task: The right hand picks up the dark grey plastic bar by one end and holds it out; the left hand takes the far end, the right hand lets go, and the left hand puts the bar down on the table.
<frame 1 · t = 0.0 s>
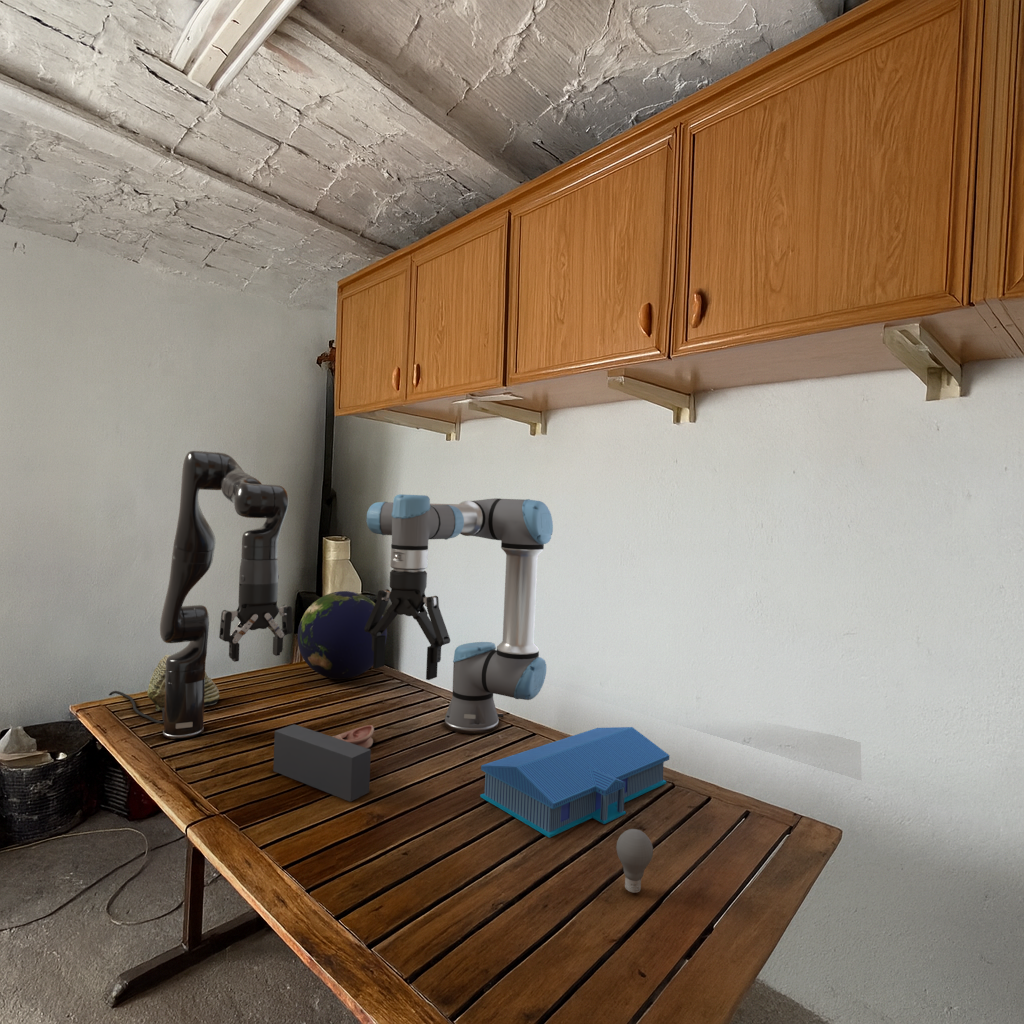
left hand: (256, 657, 132), 29 cm above the table, tool pointing down, fingers open, 8 cm apart
right hand: (404, 672, 130), 28 cm above the table, tool pointing down, fingers open, 13 cm apart
fossil: (183, 706, 185), on the table
anatomical model: (345, 745, 162), on the table
light bulb: (632, 891, 106), on the table
bar: (319, 781, 141), on the table
globe: (341, 678, 220), on the table
model building: (581, 792, 141), on the table
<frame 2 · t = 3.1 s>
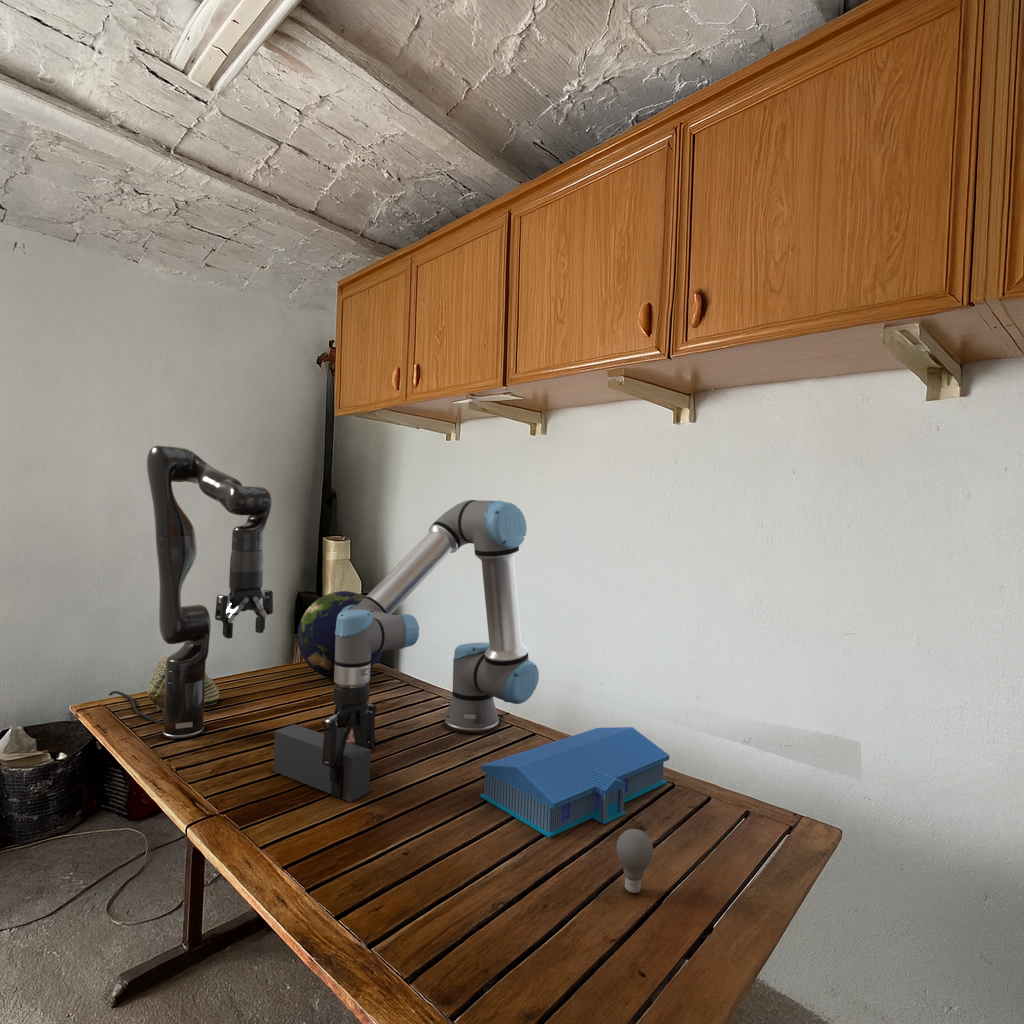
left hand: (244, 635, 154), 29 cm above the table, tool pointing down, fingers open, 8 cm apart
right hand: (347, 789, 136), 1 cm above the table, tool pointing down, fingers closed on bar, 5 cm apart
bar: (319, 781, 141), on the table, touching right hand
everything else where it was.
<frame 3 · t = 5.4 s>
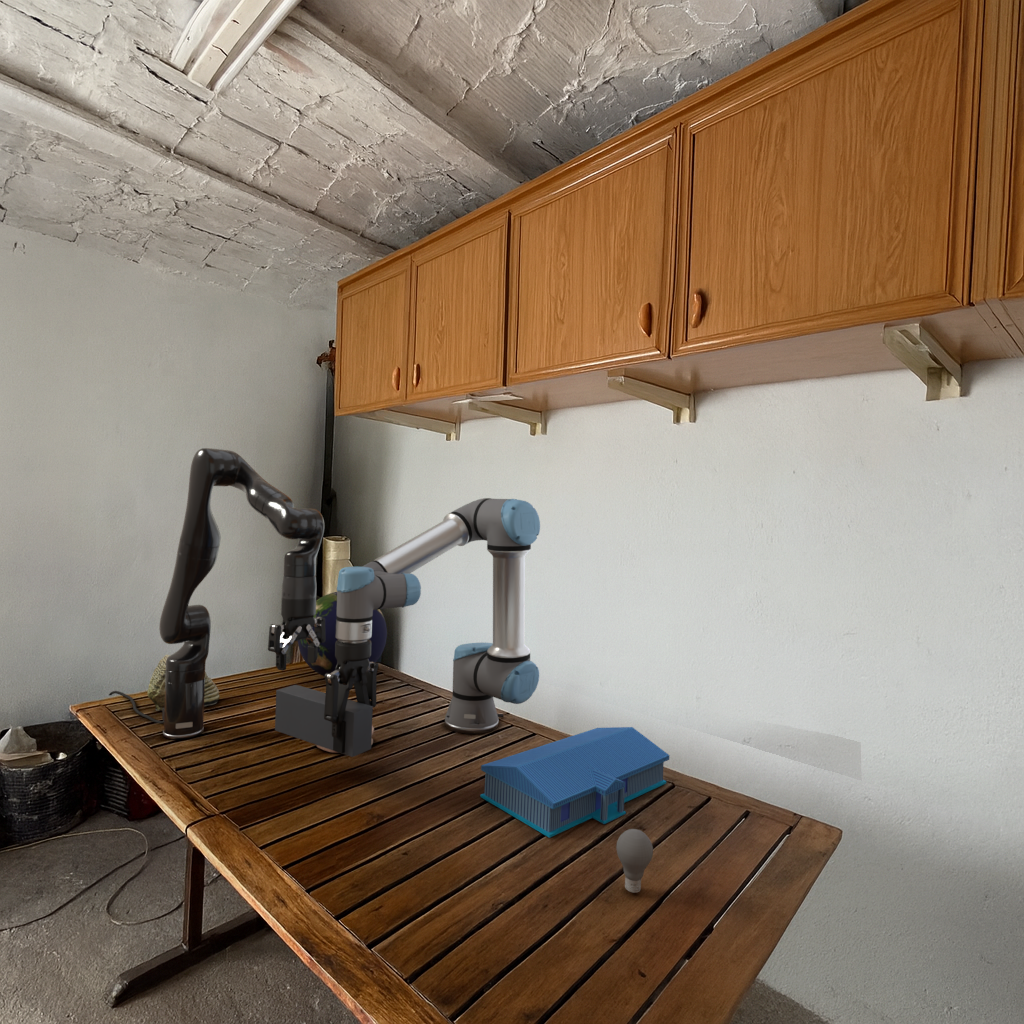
left hand: (297, 666, 145), 24 cm above the table, tool pointing down, fingers open, 8 cm apart
right hand: (349, 746, 136), 10 cm above the table, tool pointing down, fingers closed on bar, 5 cm apart
bar: (321, 739, 141), point 9 cm above the table, touching right hand
everything else where it was.
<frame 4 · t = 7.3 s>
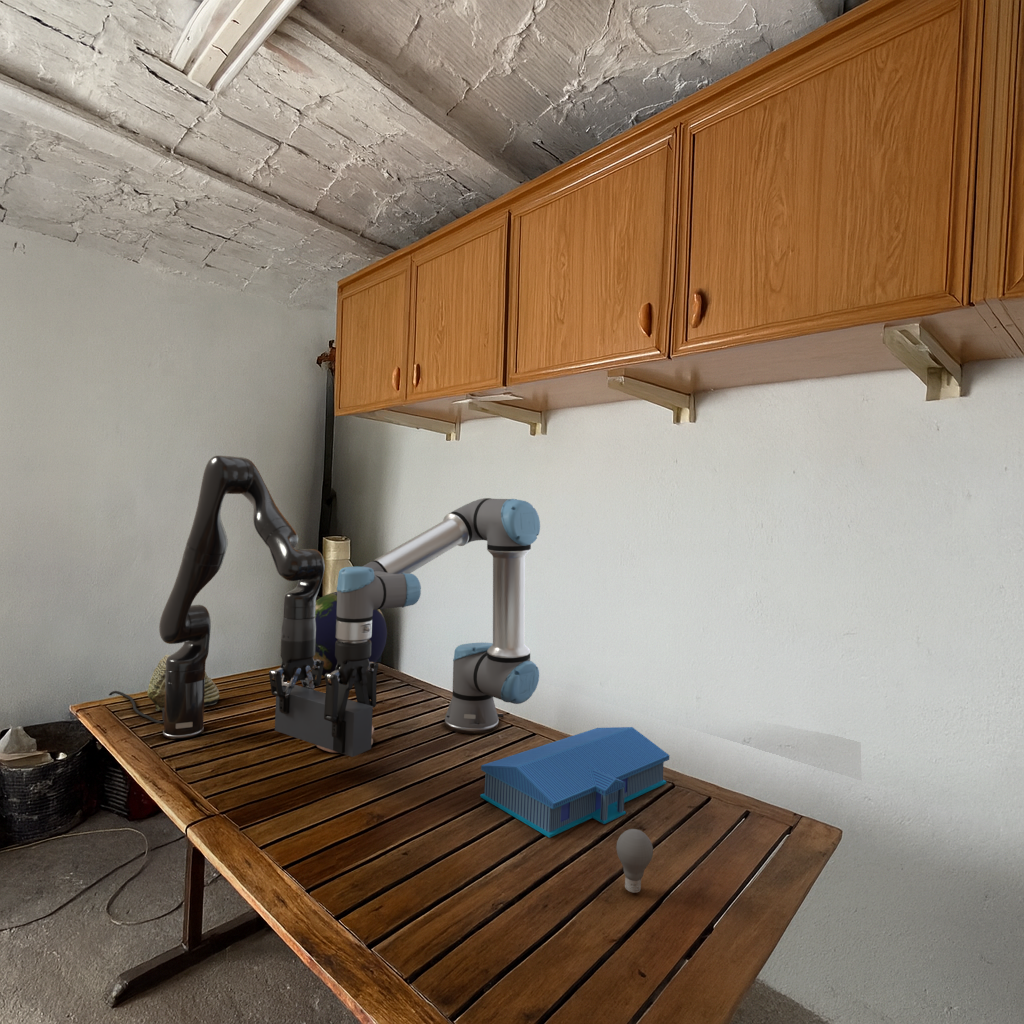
left hand: (295, 709, 145), 14 cm above the table, tool pointing down, fingers closed on bar, 5 cm apart
right hand: (349, 746, 136), 10 cm above the table, tool pointing down, fingers closed on bar, 5 cm apart
bar: (321, 739, 141), point 9 cm above the table, touching left hand, right hand
everything else where it was.
when the right hand's fingers open (10 cm above the table, at t = 8.2 s): bar stays where it is, held by the left hand.
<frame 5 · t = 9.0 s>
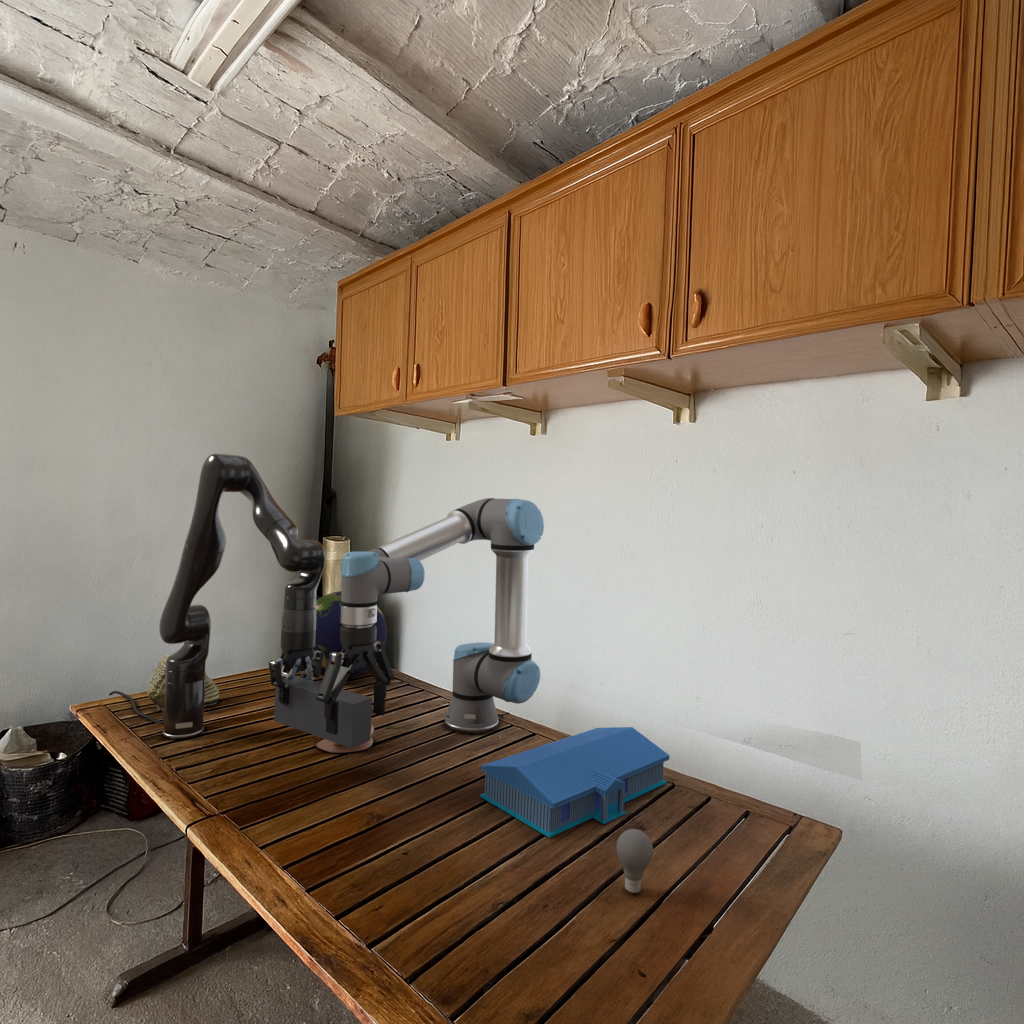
left hand: (295, 700, 145), 16 cm above the table, tool pointing down, fingers closed on bar, 5 cm apart
right hand: (356, 723, 136), 15 cm above the table, tool pointing down, fingers open, 13 cm apart
bar: (320, 730, 141), point 11 cm above the table, touching left hand
everything else where it was.
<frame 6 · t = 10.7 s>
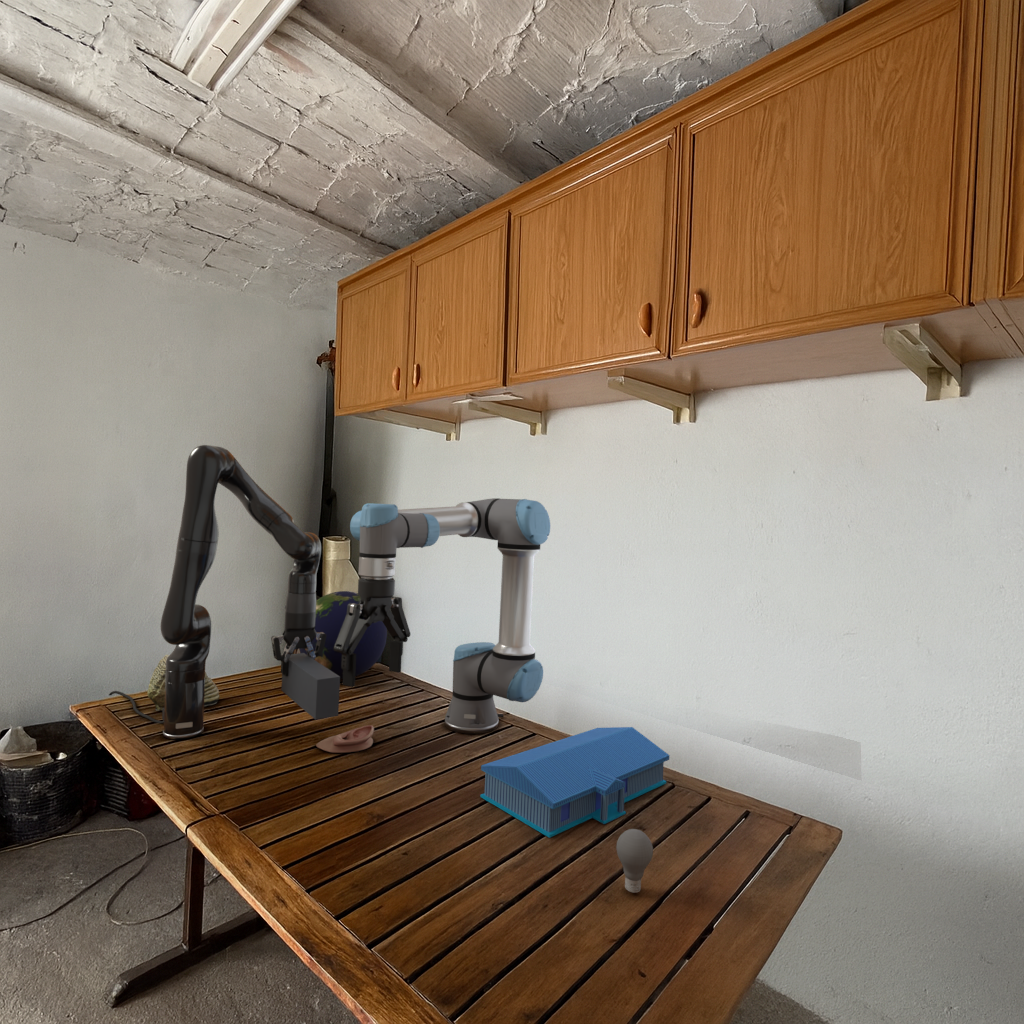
left hand: (297, 674, 164), 17 cm above the table, tool pointing down, fingers closed on bar, 5 cm apart
right hand: (372, 678, 133), 26 cm above the table, tool pointing down, fingers open, 13 cm apart
bar: (308, 702, 157), point 12 cm above the table, touching left hand
everything else where it was.
when the left hand's fingers open (6 cm above the table, at t = 14.2 s): bar drops 1 cm, on the table.
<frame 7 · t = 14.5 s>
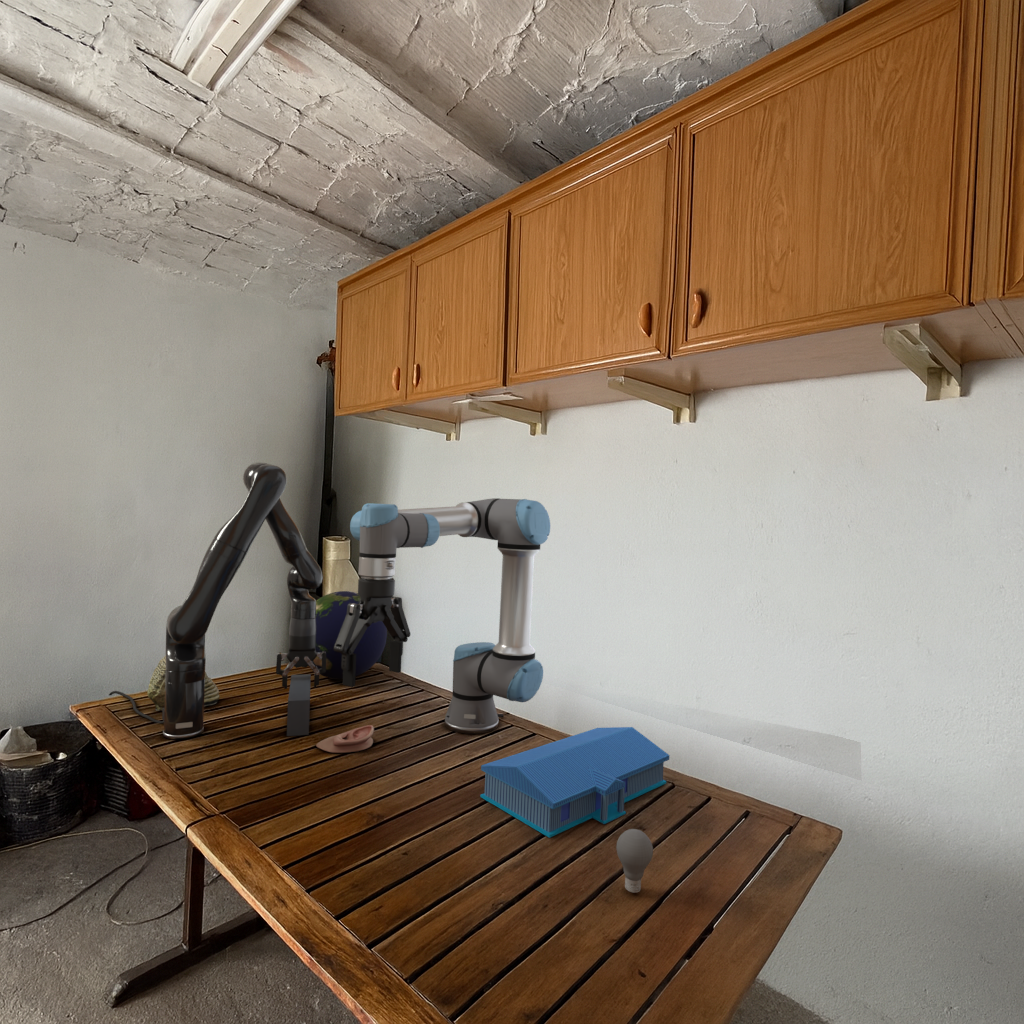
left hand: (300, 687, 187), 7 cm above the table, tool pointing down, fingers open, 8 cm apart
right hand: (372, 678, 133), 26 cm above the table, tool pointing down, fingers open, 13 cm apart
bar: (298, 719, 178), on the table
everything else where it was.
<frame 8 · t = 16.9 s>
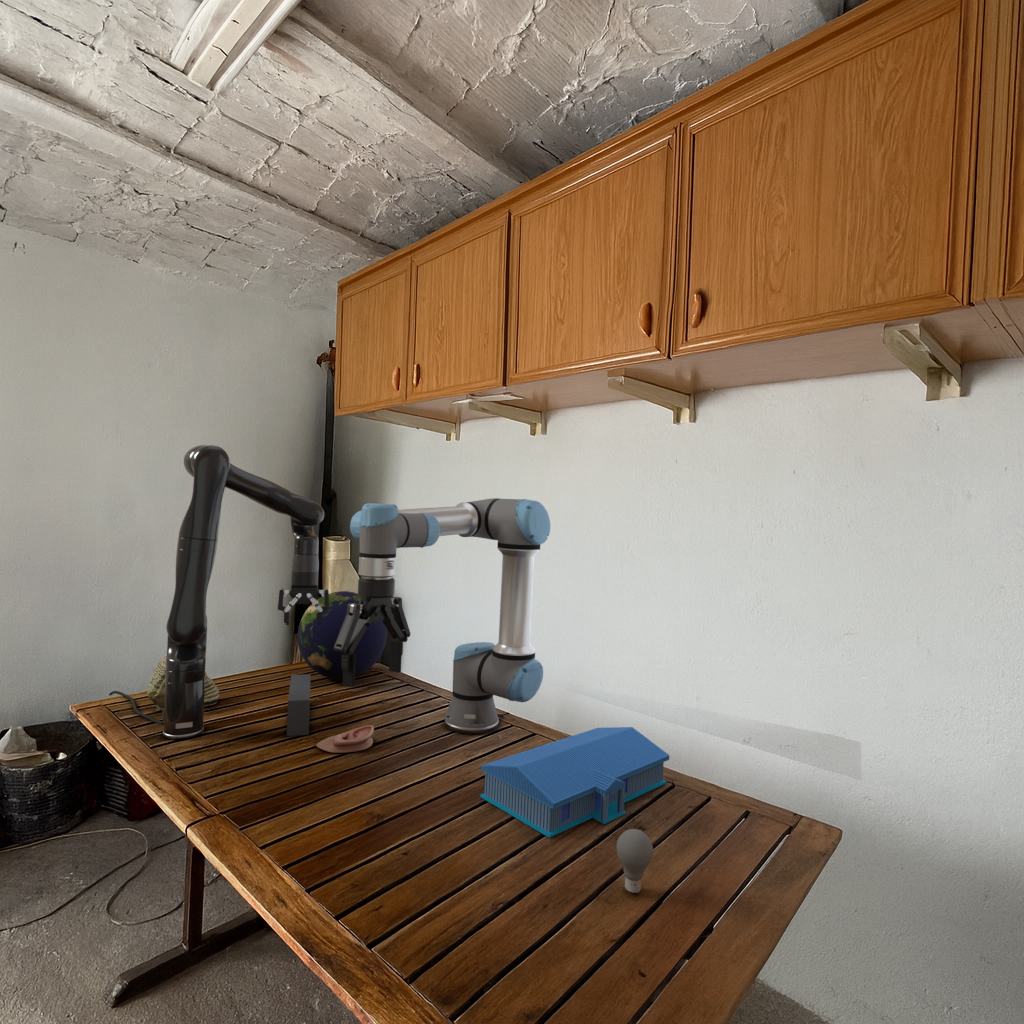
left hand: (303, 624, 186), 25 cm above the table, tool pointing down, fingers open, 8 cm apart
right hand: (372, 678, 133), 26 cm above the table, tool pointing down, fingers open, 13 cm apart
nothing on the table moved.
at the end: bar inside the target area (8.7 cm from its centre), on the table; the left hand is holding nothing; the right hand is holding nothing; bar at rest at the end (0.0 cm/s) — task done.
